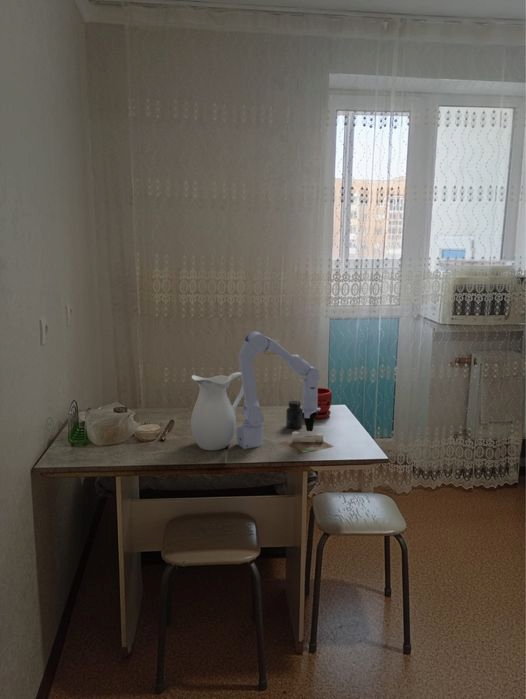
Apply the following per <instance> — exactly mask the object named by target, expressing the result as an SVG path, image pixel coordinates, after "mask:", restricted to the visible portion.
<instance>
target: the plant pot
mask: <svg viewBox="0 0 526 699" xmlns="http://www.w3.org/2000/svg"><path fill="white" fill-rule="evenodd" d="M332 399H333V392H332V389H331V388H325V387H318V399H317V408H320V411H316V412H318V414H317V416H316V418H315V419H323V418H327V417H329V416H330V415H331V410H330V409H331V406H332V401H333V400H332Z"/></svg>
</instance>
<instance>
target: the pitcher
mask: <svg viewBox="0 0 526 699" xmlns="http://www.w3.org/2000/svg"><path fill="white" fill-rule="evenodd" d="M238 377H239V378H241V371H240V372H239V371H237V372H233V373H231V374H230V375H228V376H227V375H221V374H220V375H215V376H212V377H201V376H198V375H191V379H192V381H193V382H195V383H196V384H197V386H198V388H199V392H198V396H197V399H196V401H195V404H194V406H193V410H192V413H191V421H190V426H191V427H190V428H191V434H192V437H193V439H194V441H195V443H196V444H197V446H198V447H199V448H200V449H202V450H205V451H220V450H224V449H225V448H227V447H228V446H229V445H230V443H231V441H232V440H233V437H234V435H235V432H236V420H237V415H236V409H238V408H237V407H238V406H239V403H240V402H241V400H242V398H243V397H244V392H243V385H242V384H241V387H240V390H239V393H238V394H237V397H236V398H235V400H234V401H233V404H232V403H231V401H230V399H229V396H228V393H227V389H229V388H230V384H231V382H232V381H233V380H234V379H235V378H238Z"/></svg>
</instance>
